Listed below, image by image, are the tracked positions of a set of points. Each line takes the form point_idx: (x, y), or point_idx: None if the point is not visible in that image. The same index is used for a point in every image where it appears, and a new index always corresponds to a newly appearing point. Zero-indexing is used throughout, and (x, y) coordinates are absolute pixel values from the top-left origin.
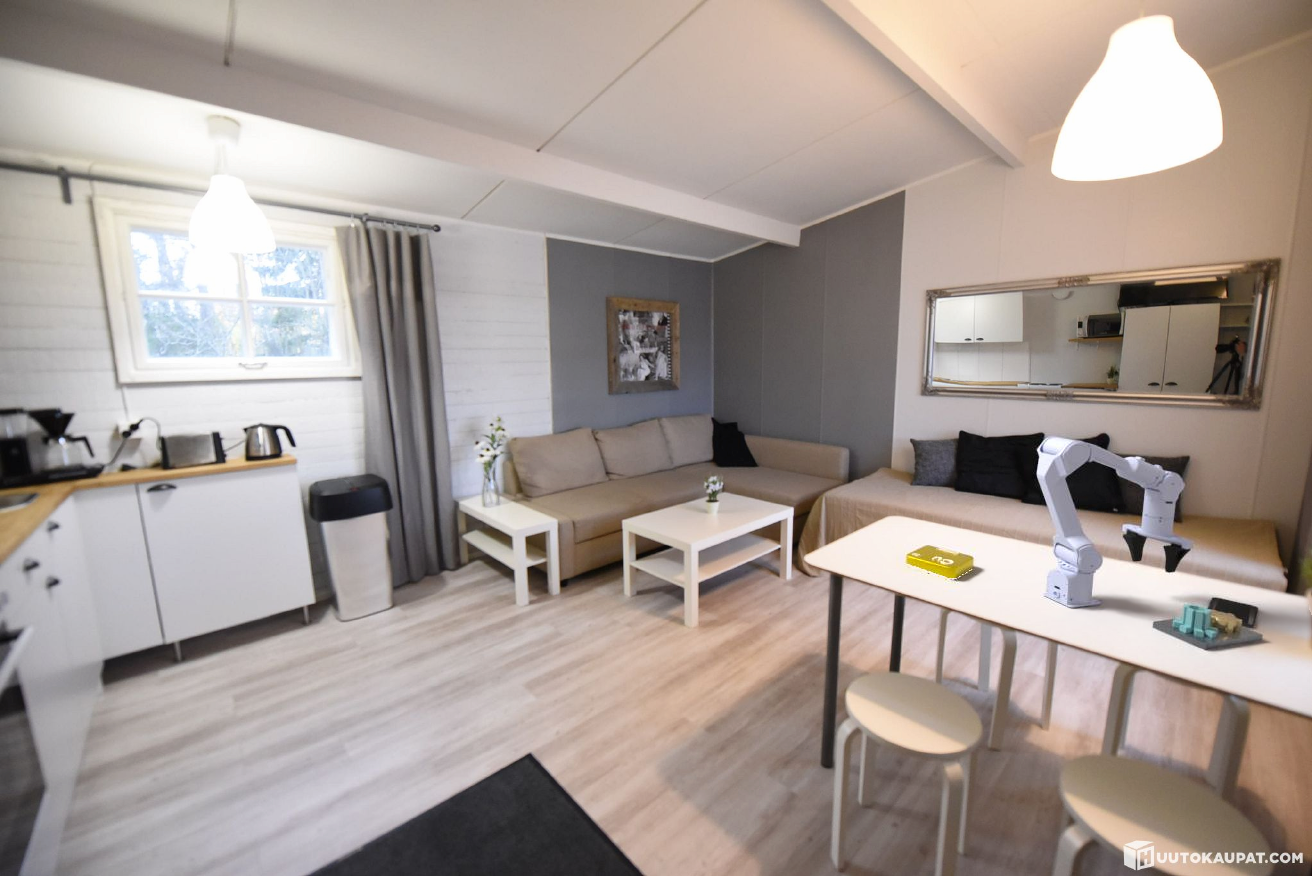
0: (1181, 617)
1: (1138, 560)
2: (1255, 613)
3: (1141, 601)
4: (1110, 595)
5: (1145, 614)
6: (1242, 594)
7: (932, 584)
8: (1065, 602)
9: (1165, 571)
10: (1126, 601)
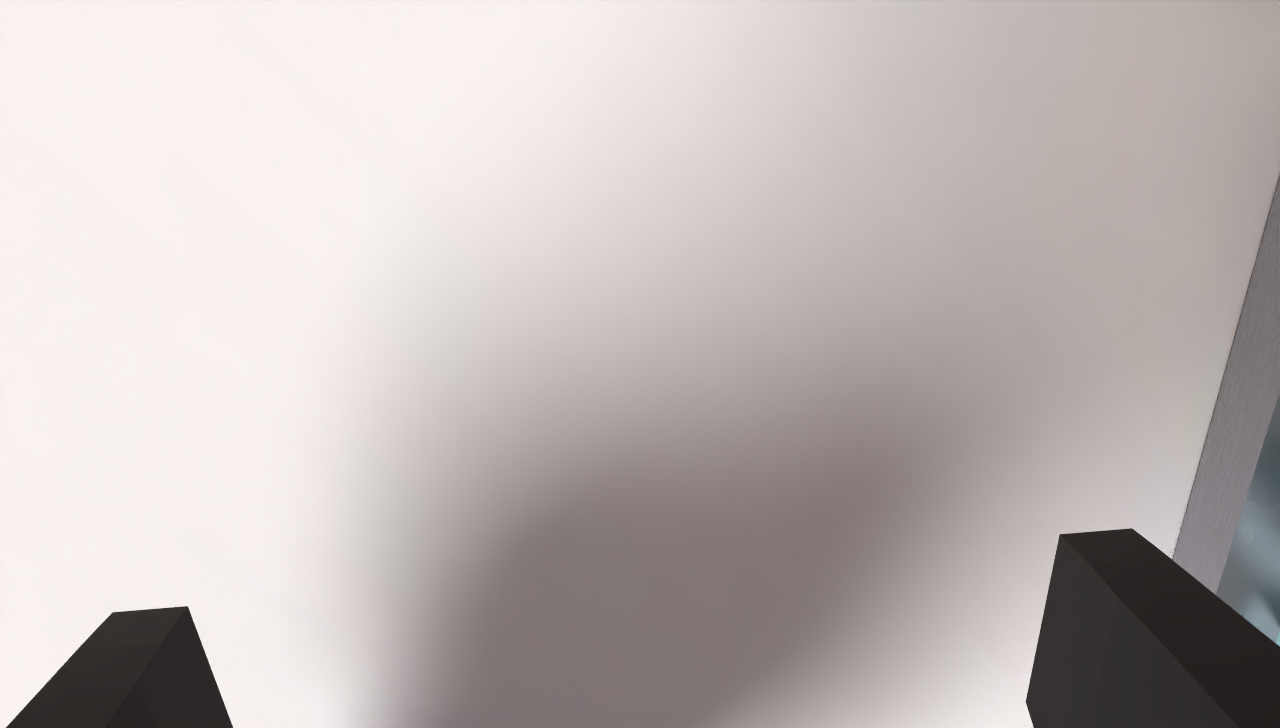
0: (1245, 513)
1: (212, 706)
2: None
3: (605, 335)
4: (370, 531)
5: (906, 592)
6: None
7: None
8: None
9: (1031, 712)
10: (569, 504)
